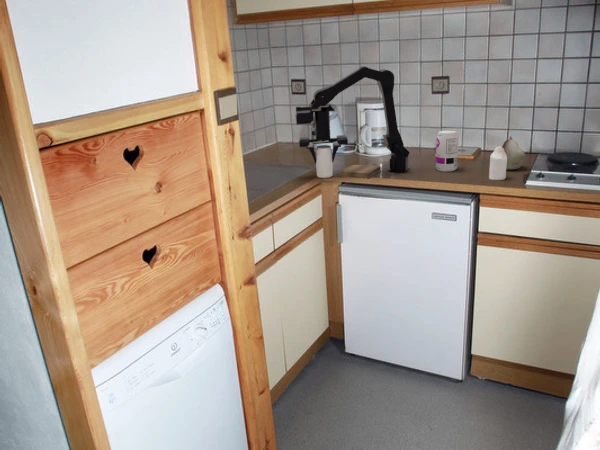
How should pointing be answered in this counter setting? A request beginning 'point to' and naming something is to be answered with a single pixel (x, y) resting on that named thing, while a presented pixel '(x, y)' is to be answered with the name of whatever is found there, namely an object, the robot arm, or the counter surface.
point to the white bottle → (498, 164)
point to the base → (360, 171)
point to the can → (324, 161)
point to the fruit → (513, 154)
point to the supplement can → (447, 150)
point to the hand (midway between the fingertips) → (324, 162)
